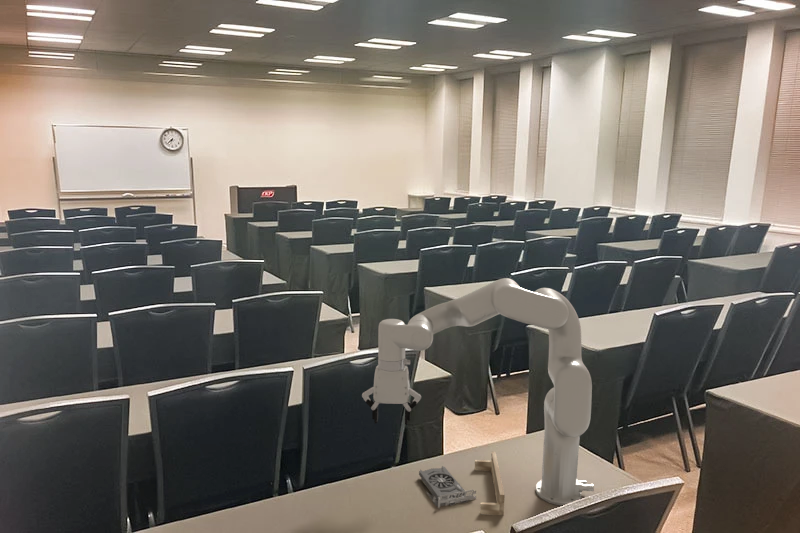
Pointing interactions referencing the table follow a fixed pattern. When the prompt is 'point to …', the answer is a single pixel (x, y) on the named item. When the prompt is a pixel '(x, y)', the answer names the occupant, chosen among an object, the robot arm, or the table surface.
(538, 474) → the table surface
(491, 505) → the birch bracket
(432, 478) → the graphics card
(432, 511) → the table surface
